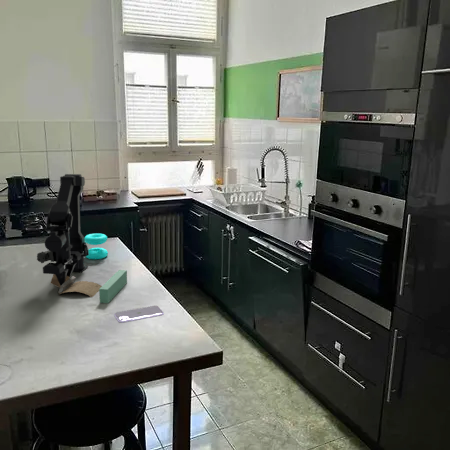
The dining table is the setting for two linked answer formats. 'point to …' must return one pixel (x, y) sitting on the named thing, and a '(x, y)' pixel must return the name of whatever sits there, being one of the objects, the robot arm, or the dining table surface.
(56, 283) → the tan block on bar
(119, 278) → the bar
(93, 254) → the donuts
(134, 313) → the mobile phone
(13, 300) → the dining table surface
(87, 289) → the clay tablet
